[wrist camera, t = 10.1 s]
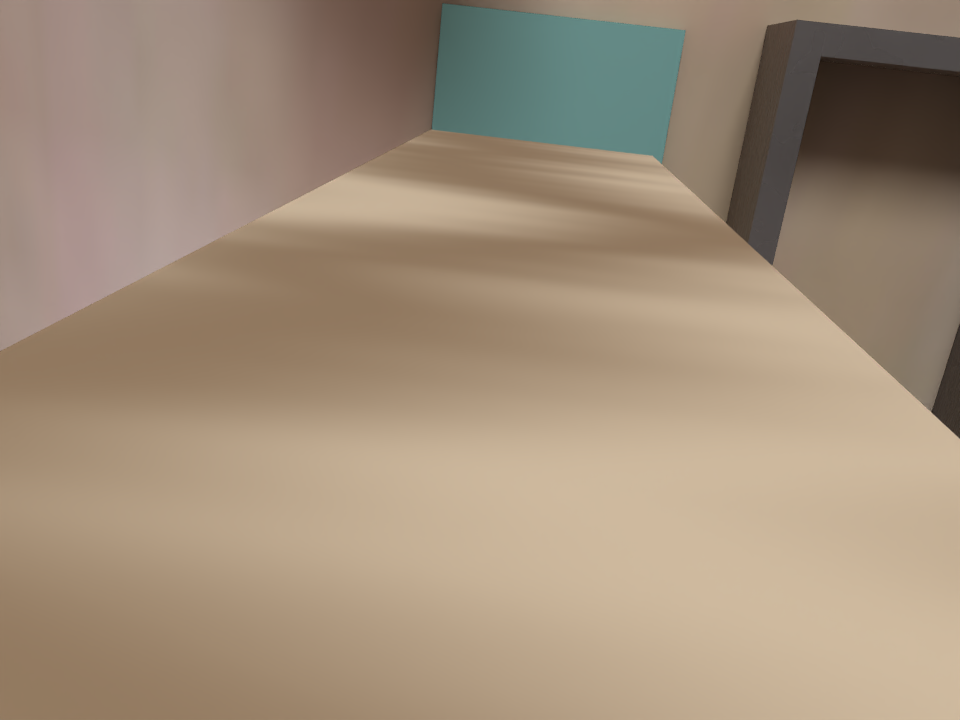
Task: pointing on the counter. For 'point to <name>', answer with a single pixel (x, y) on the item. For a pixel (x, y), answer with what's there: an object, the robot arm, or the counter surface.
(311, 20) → the counter surface
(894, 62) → the bracket
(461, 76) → the mat
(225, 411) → the wooden block
